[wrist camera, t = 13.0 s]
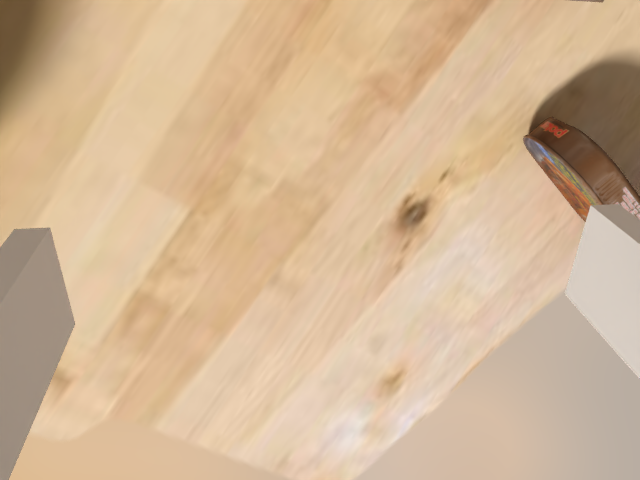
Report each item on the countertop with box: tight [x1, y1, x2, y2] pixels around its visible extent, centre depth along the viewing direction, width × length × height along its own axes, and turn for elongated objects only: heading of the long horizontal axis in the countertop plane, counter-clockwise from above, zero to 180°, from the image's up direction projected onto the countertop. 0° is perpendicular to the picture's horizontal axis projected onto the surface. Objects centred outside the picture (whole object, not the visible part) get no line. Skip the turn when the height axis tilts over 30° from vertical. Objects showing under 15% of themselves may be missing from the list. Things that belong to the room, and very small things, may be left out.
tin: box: [523, 117, 640, 222], centre depth 43 cm, size 15×3×8 cm, turn 44°
